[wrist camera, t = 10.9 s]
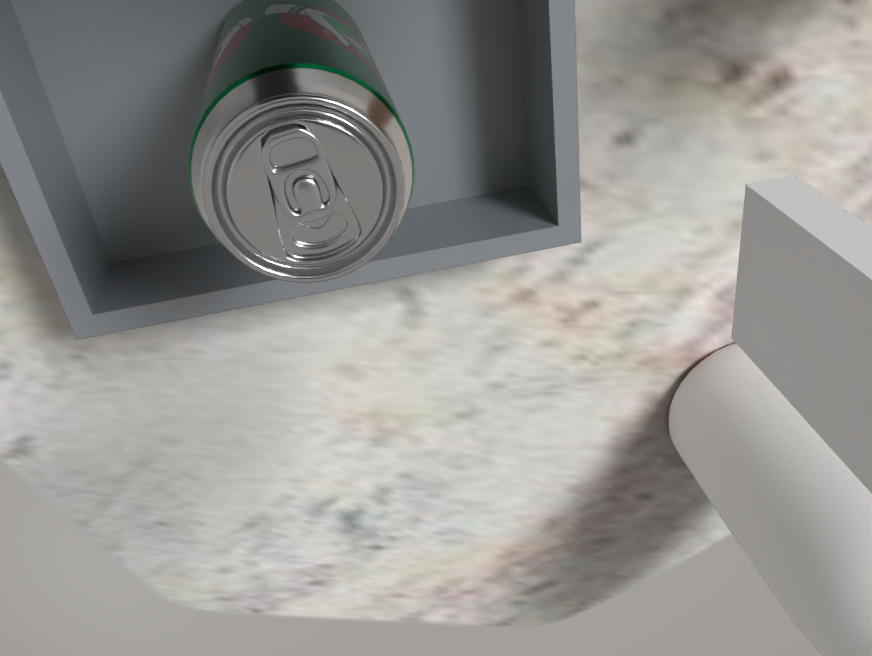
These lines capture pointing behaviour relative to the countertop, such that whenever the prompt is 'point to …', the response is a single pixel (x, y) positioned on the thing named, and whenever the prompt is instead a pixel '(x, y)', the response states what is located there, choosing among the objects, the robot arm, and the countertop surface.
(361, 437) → the countertop surface
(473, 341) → the countertop surface
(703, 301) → the countertop surface
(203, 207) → the soda can
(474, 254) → the bin
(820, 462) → the milk bottle
